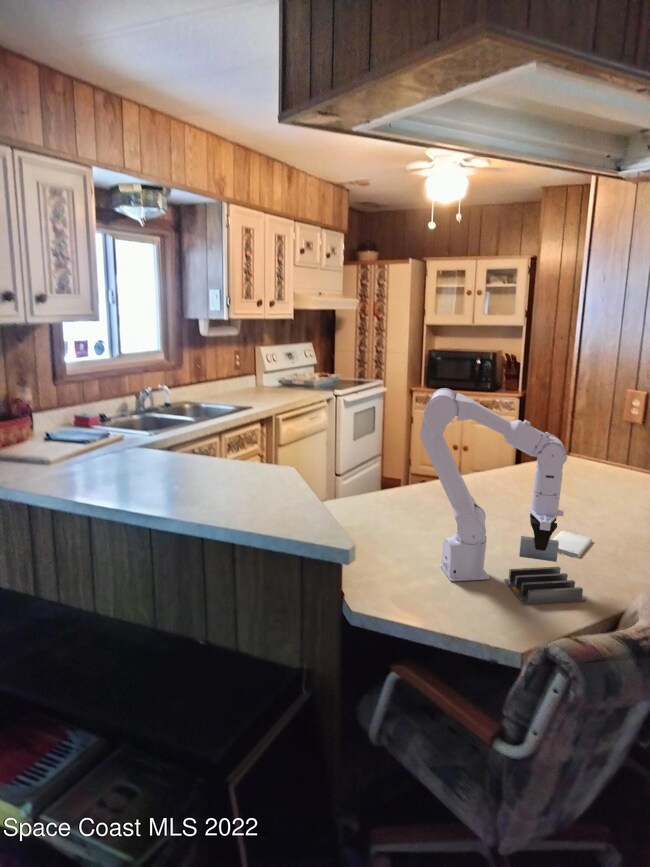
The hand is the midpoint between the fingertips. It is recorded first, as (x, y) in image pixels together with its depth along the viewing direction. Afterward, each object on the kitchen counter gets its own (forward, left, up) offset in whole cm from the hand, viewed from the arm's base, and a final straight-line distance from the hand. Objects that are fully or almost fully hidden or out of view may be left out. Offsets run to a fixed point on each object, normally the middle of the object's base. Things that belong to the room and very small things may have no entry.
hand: (540, 547), depth 138 cm
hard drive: (+17, +18, -9) cm, 26 cm away
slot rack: (0, -4, -8) cm, 9 cm away
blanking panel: (0, 0, -3) cm, 3 cm away
